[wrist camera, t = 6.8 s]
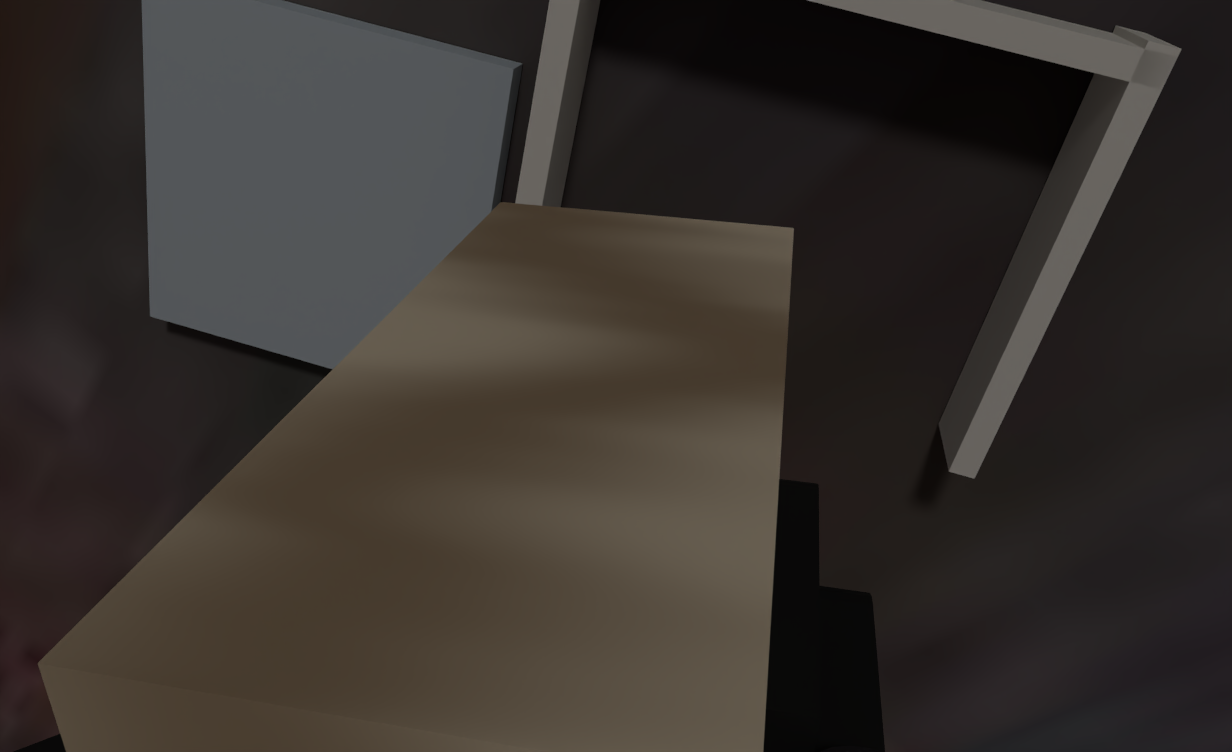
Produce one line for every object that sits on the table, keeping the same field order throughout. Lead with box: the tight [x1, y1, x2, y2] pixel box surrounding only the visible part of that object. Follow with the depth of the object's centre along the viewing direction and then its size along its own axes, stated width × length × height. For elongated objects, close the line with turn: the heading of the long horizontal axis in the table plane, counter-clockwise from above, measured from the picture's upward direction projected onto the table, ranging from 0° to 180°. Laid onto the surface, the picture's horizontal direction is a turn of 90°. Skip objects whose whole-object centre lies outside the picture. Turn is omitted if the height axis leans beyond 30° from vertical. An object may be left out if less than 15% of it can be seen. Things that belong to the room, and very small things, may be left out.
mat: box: [142, 0, 523, 369], centre depth 32 cm, size 12×12×1 cm
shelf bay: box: [515, 0, 1181, 478], centre depth 28 cm, size 16×13×3 cm
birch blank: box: [38, 202, 794, 752], centre depth 11 cm, size 4×8×9 cm, turn 178°
